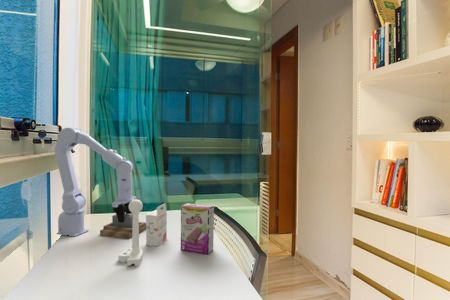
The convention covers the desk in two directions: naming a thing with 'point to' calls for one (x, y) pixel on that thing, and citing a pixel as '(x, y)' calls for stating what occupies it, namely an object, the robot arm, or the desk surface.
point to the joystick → (133, 237)
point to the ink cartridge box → (156, 226)
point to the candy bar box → (197, 228)
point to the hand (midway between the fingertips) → (125, 220)
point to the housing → (127, 221)
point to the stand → (120, 230)
